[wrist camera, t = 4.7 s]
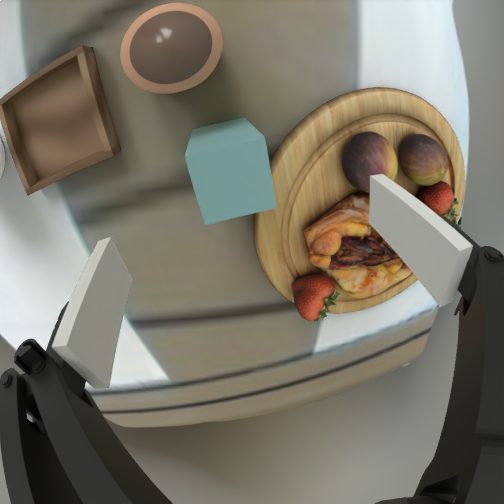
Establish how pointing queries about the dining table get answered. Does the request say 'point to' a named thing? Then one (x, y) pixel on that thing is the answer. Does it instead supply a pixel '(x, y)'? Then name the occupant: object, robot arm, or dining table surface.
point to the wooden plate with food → (352, 198)
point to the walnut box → (58, 120)
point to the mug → (2, 158)
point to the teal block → (230, 170)
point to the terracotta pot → (171, 48)
